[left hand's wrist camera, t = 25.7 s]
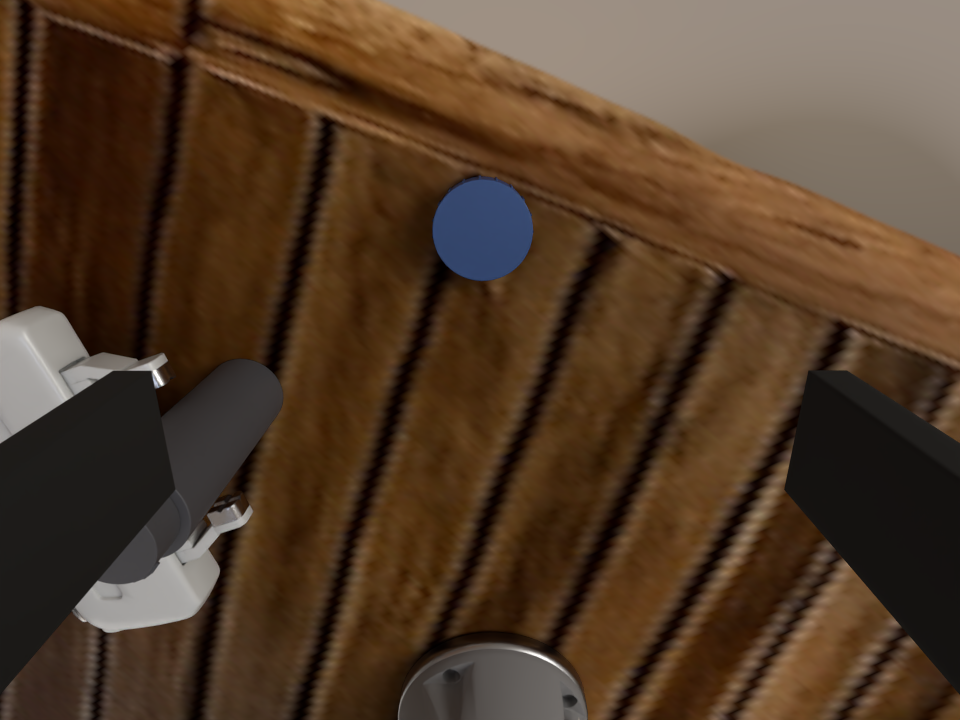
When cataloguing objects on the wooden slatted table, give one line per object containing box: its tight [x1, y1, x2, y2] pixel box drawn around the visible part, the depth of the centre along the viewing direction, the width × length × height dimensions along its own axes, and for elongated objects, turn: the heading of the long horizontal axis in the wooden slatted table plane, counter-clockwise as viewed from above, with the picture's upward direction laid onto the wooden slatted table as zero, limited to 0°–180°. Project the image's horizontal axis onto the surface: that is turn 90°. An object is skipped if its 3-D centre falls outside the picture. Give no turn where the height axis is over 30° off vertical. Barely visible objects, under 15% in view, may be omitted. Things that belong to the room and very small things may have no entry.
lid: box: [432, 175, 533, 281], centre depth 36 cm, size 6×6×2 cm
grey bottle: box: [98, 359, 283, 584], centre depth 33 cm, size 5×5×16 cm
